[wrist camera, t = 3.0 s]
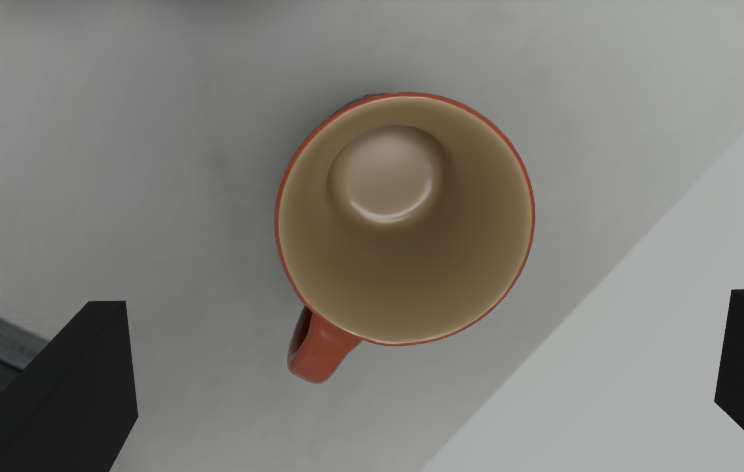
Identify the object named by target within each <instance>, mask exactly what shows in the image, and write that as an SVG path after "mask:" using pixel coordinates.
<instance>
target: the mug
mask: <svg viewBox="0 0 744 472" xmlns="http://www.w3.org/2000/svg"><path fill="white" fill-rule="evenodd" d="M274 223H275V237H276V244H277V249H278V253H279V256H280V260H281V262H282V265H283V268H284V270H285V273H286V275H287V277H288V279H289V281H290V283H291V285H292V287H293V288H294V290H295V292H296V293H297V295H298V297H299V298H300V299H301V301H302V302H303V303H304V304H305V306H304V308H303V310H302V312H301V315H300V317H299V319H298V322H297V324H296V327H295V330H294V333H293V336H292V339H291V343H290V346H289V351H288V356H287V366H288V369H289V371H290V372H291V373H292V374H294V375H296V376H297V377H299V378H301V379H303V380H305V381H308V382H310V383H315V384H321V383H323V382H325V381H326V380H328V379H329V378H330V377H331V375H332V374H333V373H334V372H335V370H336V369H337V368H338V366H339V365H340V363H341V362H342V360H343V359H344V358H345V357H346V355H347V354H348V353H349V352H350V351H352V350H353V349H354V348H355V347H356V346H358V345H359V344H360V343H361V342H362V340H364V341H367V342H370V343H374V344H377V345H383V346H407V345H416V344H423V343H428V342H432V341H436V340H440V339H443V338H446V337H449V336H451V335H454V334H456V333H458V332H460V331H462V330H464V329H466V328H468V327H470V326H471V325H473V324H475V323H476V322H478V321H479V320H481V319H482V318H483V317H484V316H486V315H487V314H488V313H490V312H491V311H492V310H493V309H494V308H495V307H496V306H497V305H498V304H499V303H500V302H501V301H502V300H503V299H504V297H505V296H506V295H507V294H508V292H509V291H510V290H511V288H512V287H513V286H514V284H515V282H516V281H517V279H518V277H519V276H520V274H521V272H522V270H523V268H524V265H525V263H526V260H527V258H528V255H529V252H530V248H531V245H532V241H533V234H534V227H535V203H534V196H533V191H532V187H531V183H530V179H529V176H528V173H527V171H526V168H525V166H524V164H523V162H522V160H521V158H520V156H519V154H518V153H517V151H516V149H515V148H514V146H513V145H512V143H511V142H510V141H509V140H508V138H507V137H506V136H505V135H504V134H503V133H502V132H501V131H500V130H499V128H498V127H497V126H495V125H494V124H493V123H492V122H491V121H489V120H488V119H487V118H486V117H484V116H483V115H481V114H480V113H478V112H477V111H475V110H473V109H472V108H470V107H468V106H466V105H464V104H462V103H459V102H457V101H454V100H452V99H448V98H445V97H442V96H437V95H432V94H427V93H416V92H399V93H381V94H371V95H366V96H364V97H362V98H359V99H357V100H354V101H352V102H350V103H348V104H346V105H345V106H343V107H342V108H340V109H339V110H337V111H336V112H335V113H334V114H332V115H331V116H330V117H329V118H328V119H327V120H325V121H324V122H323V123H322V124H321V125H320V126H318V127H317V128H316V129H315V130H314V131H313V132H312V133H311V134H310V135H309V136H308V137H307V138H306V139H305V141H304V142H303V143H302V145H301V146H300V147H299V148H298V150H297V151H296V153H295V154H294V156H293V158H292V159H291V161H290V163H289V165H288V167H287V169H286V171H285V173H284V176H283V179H282V181H281V184H280V187H279V191H278V195H277V200H276V207H275V221H274Z"/></svg>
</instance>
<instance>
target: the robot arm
mask: <svg viewBox="0 0 744 472" xmlns="http://www.w3.org/2000/svg"><path fill="white" fill-rule="evenodd" d="M714 402H715V403H716V404H717V405H718V406H719V407H720V408H721V409H723V410H724V411H725V412H726V413H727V414H728V415H729V416H730V417H731V418H732V419H733V420H734V421H735V422H736V423H737V424H738V425H739V426H740V427H741V428H742V429H743V430H744V289H740V290H739V289H738V290H737V289H735V290H731V297H730V303H729V310H728V316H727V322H726V329H725V335H724V341H723V348H722V355H721V361H720V367H719V373H718V380H717V386H716V393H715V399H714ZM137 418H138V410H137V401H136V392H135V382H134V373H133V364H132V355H131V346H130V336H129V327H128V318H127V309H126V301H89V302H88V303H87V304H86V305H85V306H84V307H83V308H82V309H81V310H80V311H79V312H78V313H77V314H76V315H75V316H74V317H73V318H72V319H71V320H70V322H69V323H68V324H67V325H66V326H65V327H64V328H63V329H62V330H61V331H60V332H59V333H58V334H57V335H56V336H55V337H54V338H53V339H52V340H51V341H50V343H49V344H48V345H47V346H46V347H45V348H44V349H43V350H42V351H41V352H40V353H39V354H38V355H37V356H36V357H35V358H34V359H33V360H32V361H31V362H30V364H29V365H28V366H27V367H26V368H25V369H24V370H23V371H22V372H21V373H20V374H19V375H18V376H17V377H16V378H15V379H14V380H13V381H12V382H11V383H10V385H9V386H8V387H7V388H6V389H5V390H4V391H3V392H2V393H1V394H0V472H109V471H110V469H111V467H112V465H113V463H114V461H115V460H116V458H117V456H118V454H119V452H120V450H121V448H122V446H123V444H124V443H125V441H126V439H127V437H128V435H129V433H130V431H131V429H132V427H133V426H134V424H135V422H136V420H137Z"/></svg>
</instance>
